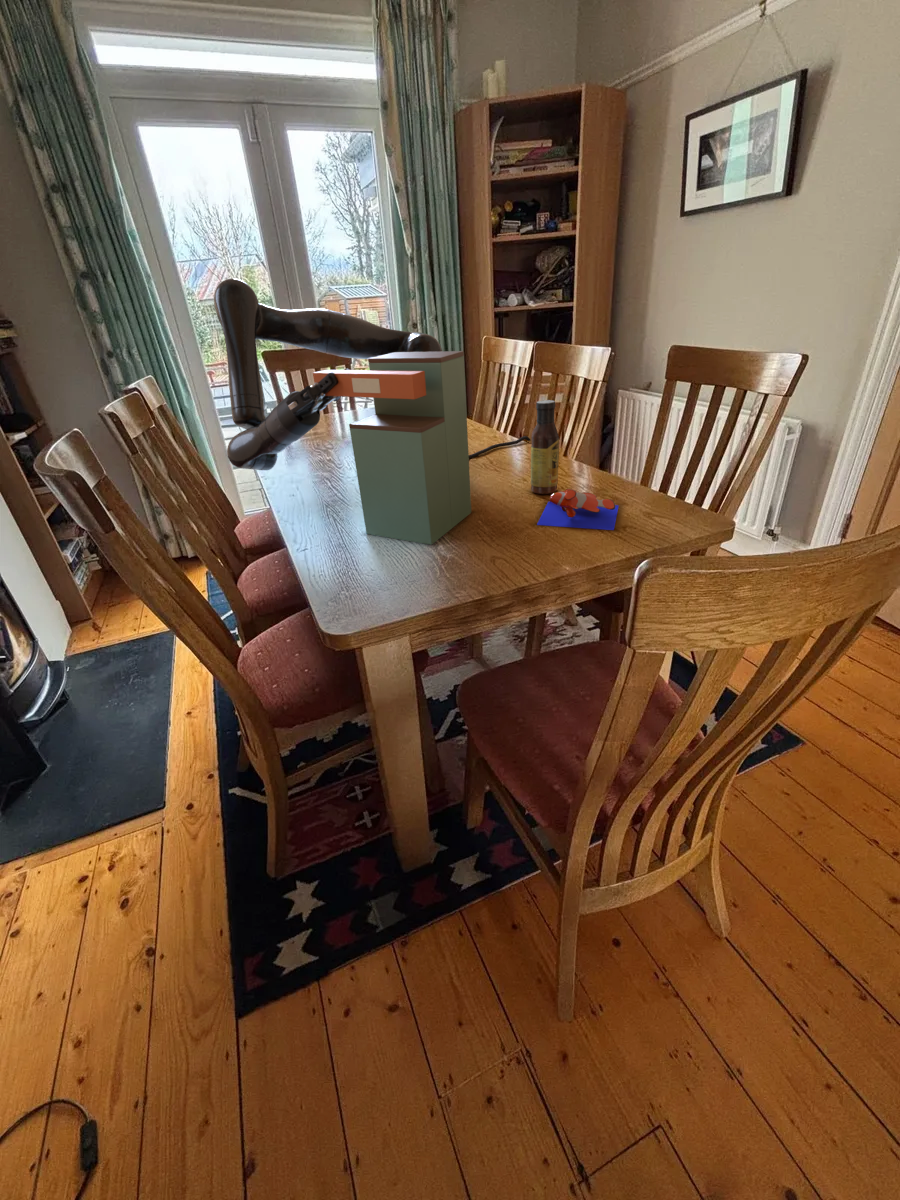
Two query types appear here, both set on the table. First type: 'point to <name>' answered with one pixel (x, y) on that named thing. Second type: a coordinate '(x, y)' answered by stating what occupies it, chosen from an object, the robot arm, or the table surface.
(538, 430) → the sauce bottle
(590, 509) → the fish
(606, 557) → the table surface
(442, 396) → the stand
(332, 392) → the box
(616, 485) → the table surface
